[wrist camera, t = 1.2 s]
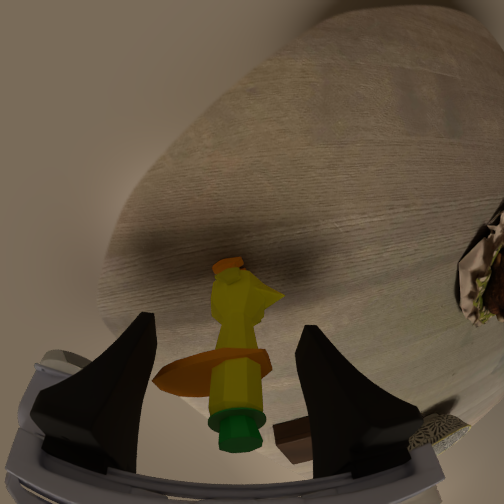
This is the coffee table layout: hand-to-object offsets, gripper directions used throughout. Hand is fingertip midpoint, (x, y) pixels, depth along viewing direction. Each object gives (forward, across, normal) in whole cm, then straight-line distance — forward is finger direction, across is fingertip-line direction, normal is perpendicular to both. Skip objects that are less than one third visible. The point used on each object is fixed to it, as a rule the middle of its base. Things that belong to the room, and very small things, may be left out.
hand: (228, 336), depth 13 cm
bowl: (+6, -39, +32) cm, 51 cm away
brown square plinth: (+6, -13, +25) cm, 28 cm away
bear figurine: (+7, -28, -2) cm, 29 cm away
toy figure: (+6, 0, 0) cm, 6 cm away
